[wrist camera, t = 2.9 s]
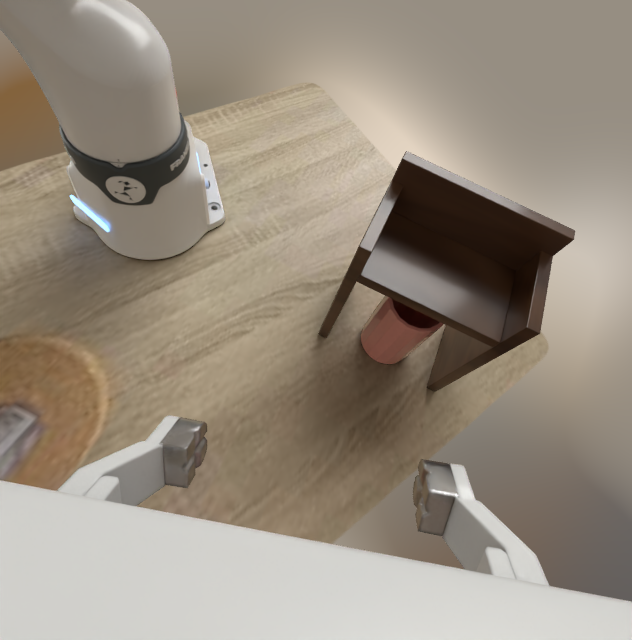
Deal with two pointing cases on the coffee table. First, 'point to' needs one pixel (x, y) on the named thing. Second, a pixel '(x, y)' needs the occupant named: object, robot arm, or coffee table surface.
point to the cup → (395, 331)
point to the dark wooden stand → (457, 264)
